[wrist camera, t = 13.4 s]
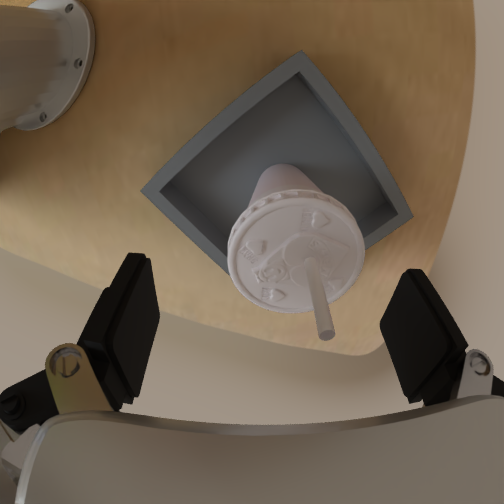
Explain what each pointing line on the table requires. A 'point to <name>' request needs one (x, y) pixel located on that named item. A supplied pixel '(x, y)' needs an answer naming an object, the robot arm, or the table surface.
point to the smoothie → (295, 247)
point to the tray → (276, 160)
